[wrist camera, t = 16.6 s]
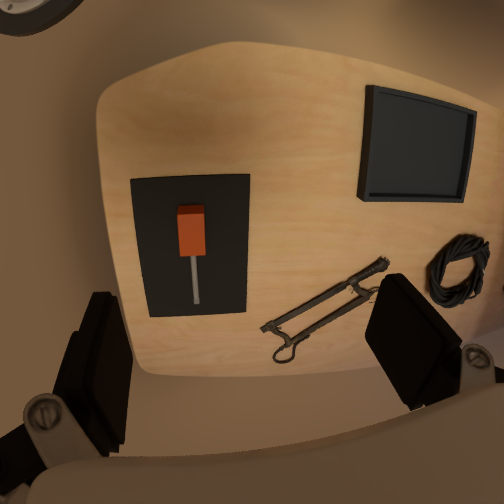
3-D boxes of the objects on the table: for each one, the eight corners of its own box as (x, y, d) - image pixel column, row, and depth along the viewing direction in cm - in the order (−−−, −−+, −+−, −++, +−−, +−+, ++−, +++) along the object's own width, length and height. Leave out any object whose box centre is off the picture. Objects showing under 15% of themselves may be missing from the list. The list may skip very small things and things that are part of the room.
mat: (130, 179, 34) (130, 179, 34) (249, 173, 36) (250, 174, 36) (150, 315, 43) (149, 317, 43) (245, 310, 46) (246, 312, 45)
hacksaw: (385, 252, 45) (390, 257, 44) (398, 296, 50) (402, 301, 49) (249, 332, 48) (250, 338, 47) (278, 365, 53) (280, 371, 51)
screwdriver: (178, 205, 36) (176, 214, 34) (203, 204, 37) (204, 213, 34) (185, 297, 42) (185, 310, 40) (207, 296, 43) (208, 309, 40)
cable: (411, 295, 51) (424, 310, 47) (442, 224, 45) (459, 236, 41) (464, 298, 55) (476, 309, 51) (492, 239, 49) (506, 249, 45)
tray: (356, 196, 40) (363, 201, 38) (365, 85, 33) (374, 85, 31) (455, 198, 43) (463, 203, 41) (468, 109, 36) (477, 111, 34)
